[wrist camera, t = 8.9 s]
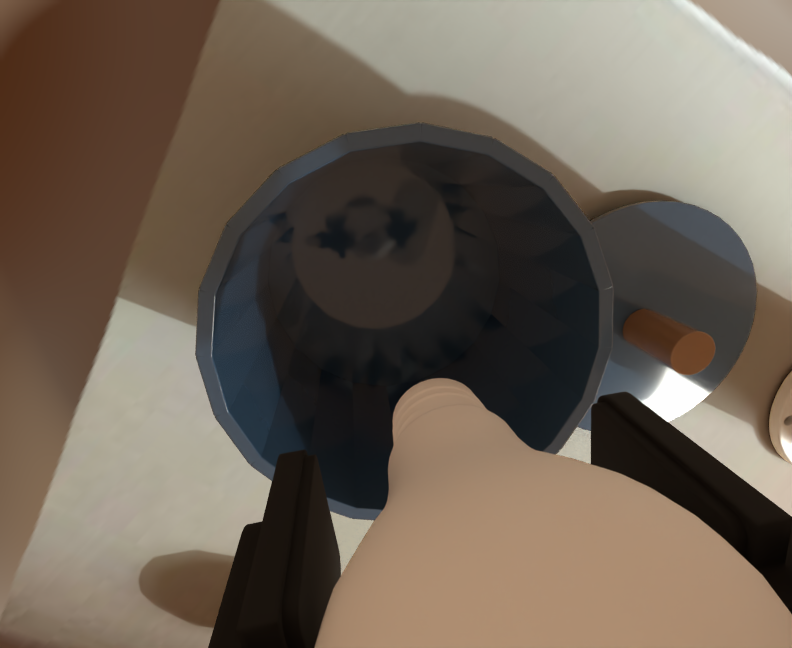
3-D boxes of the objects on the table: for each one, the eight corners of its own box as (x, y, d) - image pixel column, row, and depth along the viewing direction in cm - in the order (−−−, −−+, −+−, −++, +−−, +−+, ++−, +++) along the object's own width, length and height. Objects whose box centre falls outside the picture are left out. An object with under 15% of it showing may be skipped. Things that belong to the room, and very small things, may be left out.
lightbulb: (286, 436, 13) (62, 1454, 3) (406, 262, 12) (854, 872, 1) (451, 520, 15) (716, 1359, 4) (572, 374, 13) (1348, 1045, 3)
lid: (756, 182, 30) (854, 183, 24) (730, 405, 36) (806, 450, 30) (509, 220, 29) (550, 232, 23) (522, 443, 35) (557, 497, 29)
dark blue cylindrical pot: (496, 131, 27) (617, 93, 15) (511, 368, 33) (610, 484, 20) (233, 169, 27) (134, 163, 14) (291, 406, 32) (255, 552, 19)
